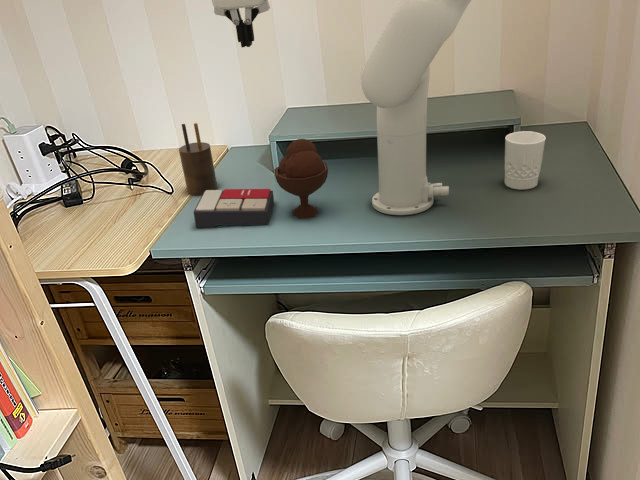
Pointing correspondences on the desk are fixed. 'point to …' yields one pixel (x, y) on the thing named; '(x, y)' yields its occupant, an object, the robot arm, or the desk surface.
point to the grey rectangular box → (234, 207)
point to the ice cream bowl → (302, 174)
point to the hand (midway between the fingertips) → (246, 45)
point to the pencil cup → (197, 165)
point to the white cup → (523, 159)
